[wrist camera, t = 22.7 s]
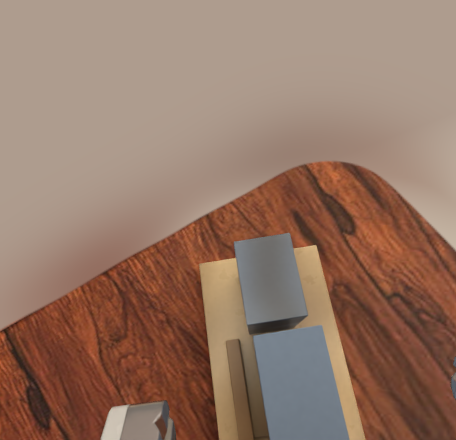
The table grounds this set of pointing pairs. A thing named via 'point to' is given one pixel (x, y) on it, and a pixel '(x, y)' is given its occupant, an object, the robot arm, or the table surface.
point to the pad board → (235, 327)
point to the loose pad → (299, 386)
